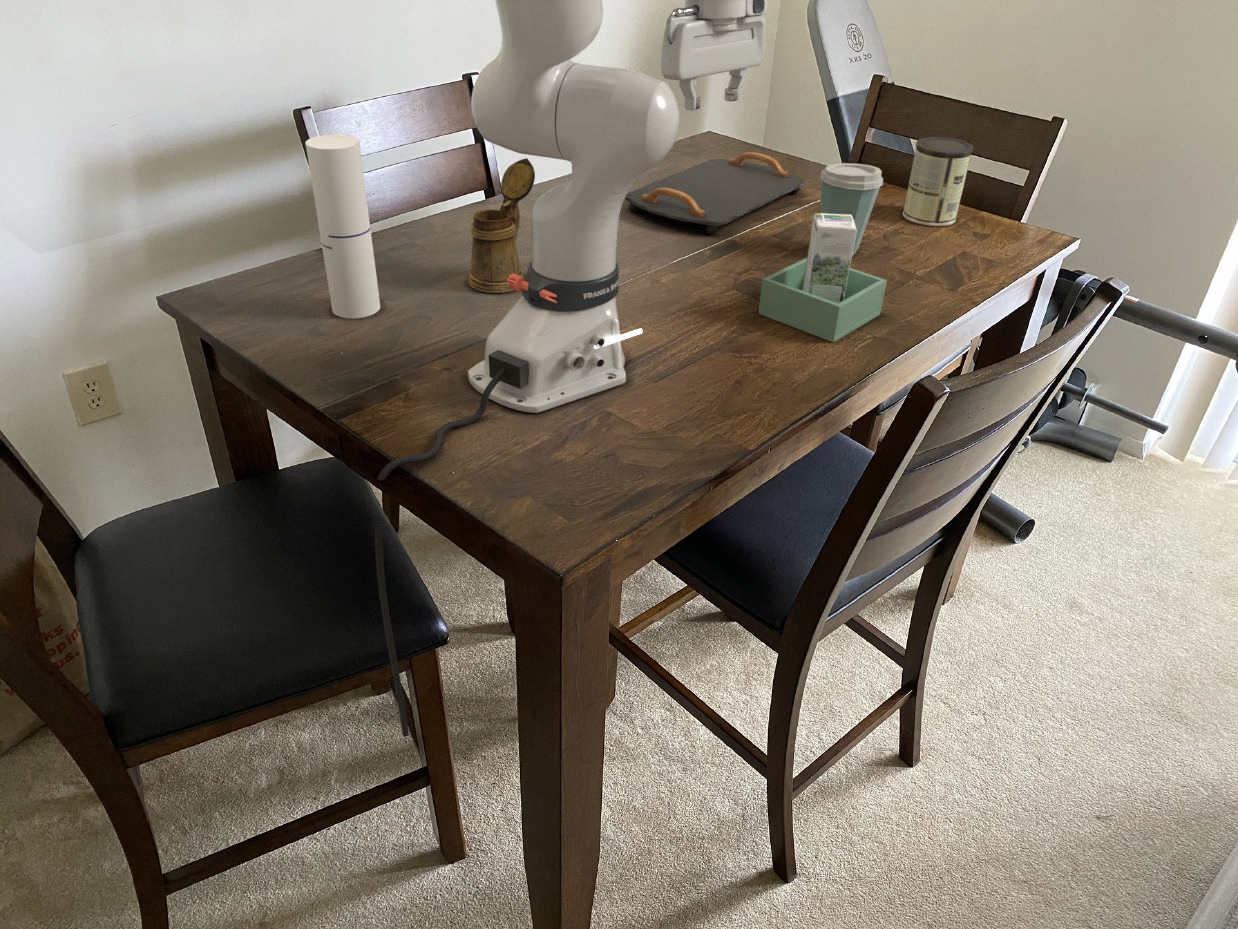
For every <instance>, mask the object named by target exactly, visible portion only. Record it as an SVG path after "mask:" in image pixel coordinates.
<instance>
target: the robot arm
mask: <svg viewBox="0 0 1238 929" xmlns="http://www.w3.org/2000/svg"><path fill="white" fill-rule="evenodd" d="M494 2H495V5H496V10H497V16H498V20H499V25H500V31H501V32H500V33H501V46H500V50H499V52H498V54H497V55H496V57H495V58H494V59H493V60H492V61H490V62H489V63H487V64H486V65H485V67H483V69H482V70H481V71H480V73H479V74H478V76H477V78H476V80H475V82H474V85H473V87H472V92H471V100H470V101H471V103H470V104H471V114H472V118H473V121H474V124H475V126H476V128H477V130H478V132H479V133H480V135H481V137H482V138H483V139H484V140H485V141H486V142H488V143H491V144H494V145H496V146H498V147H501V148H503V149H506V150H508V151H511V152H515V153H517V154H520V155H527V156H533V157H540V158H541V157H542V158H548V159H555V160H562V161H567V162H569V163H571V177H570V180H569V181H567V182H563V183H562V184H559V185H556V186H555V187H553V188H550V189H549V190H547V191H545V192H544V193H542V194H541V195H540V196H539V197H538V198H537V199H536V201H535V203H534V204H533V206H532V209H531V212H530V240H531V242H530V243H531V246H530V248H531V261H530V262H529V265H528V268H527V271H526V275H525V277H524V276H523V277H520V276H519V275H517V274H515V273H513V274H511V275H510V276H509V278H508V279H507V281H508V282H507V284H508V285H507V286H508V287H509V288H511V289H515V290H514V291H516V292H518V293H521V296H520V298H518V300H517V301H516V302H515V303H514V305H513V306H512V307H511V308H510V309H509V310H508V312H507V313H506V314H505V315H504V317H502V319H501V320H500V321H499V322H498V323H497V325H496V326H495V327H494V328H493V329H492V330H491V332H490V333H489V334H488V336H487V339H486V342H485V349H484V359H483V360H482V361H480V362H478V363H477V364H475V365H474V366H472V367H471V368H469V369H468V370H467V379H468V382H469V384H470V385H471V386H472V388H474V389H475V390H476V391H477V392H478V393H480V394H481V398H480V403H479V407H478V409H477V411H476V412H475V413H474V414H472V415H471V416H469V417H467V418H463V419H462V418H461V419H458V420H454V421H450V422H447V423H445V424H444V425H442V426H441V427H439V429H438V430H437V432H436V434H435V437H434V441H433V445H432V447H431V448H429V450H427V451H425V452H423V453H421V454H415V455H410V456H402V457H399V458H396V459H394V460H392V461H390V462H388V464H386V465H385V467H383V469H382V470H381V471H380V472H379V474H378V476H377V481H384V480H386V479H387V477H388V476H389V474H390V473H391V472H392V471H393V470H395V469H396V468H397V467H400V466H404V465H408V464H415V463H422V462H424V461H425V462H426V461H427V460H429V459H431V458H433V457H434V456H435V455H436V454H437V453H439V451H440V450H441V449H440V448H441V446H442V442H443V437H444V436H445V434H446V433H447V432H448V431H450V430H452V429H456V428H459V427H465V426H469V425H471V424H474V423H476V422H477V421H479V420H480V419H481V418H482V417H483V415H484V414H485V412H486V409H487V406H488V402H489V400H491V401H493V402H495V403H497V404H498V405H502V406H503V407H506V408H508V409H512V410H515V411H519V412H524V413H532V414H537V413H541V412H544V411H548V410H550V409H553V408H556V407H559V406H562V405H565V404H568V403H572V402H575V401H577V400H579V399H583V398H585V397H589V396H591V395H594V394H597V393H600V392H603V391H607V390H609V389H612V388H615V387H618V386H622V385H624V384H625V383H626V382H627V374H626V371H625V368H624V367H625V364H626V357H625V354H624V351H623V347H622V343H621V341H624V340H626V339H630V338H632V337H635V336H638V335H641V334H643V329H642V328H638V329H635V330H634V329H633V330H632V331H628V332H626V333H622V334H621V330H620V321H619V314H618V308H617V299H616V298H617V295H618V294H619V290H620V289H619V288H620V287H619V285H620V272H619V271H620V269H619V268H620V266H619V264H618V262H617V243H618V231H619V222H620V214H621V211H622V206H623V204H624V201H625V197H626V195H627V193H629V192H630V189H631V188H632V187H633V185H634V184H635V182H636V181H638V179H639V178H640V177H641V176H642V175H643V174H645V173H646V172H647V171H649V170H650V169H651V168H653V167H655V166H657V165H658V164H659V163H660V162H662V160H664V159H665V158H666V157H667V155H668V154H669V152H671V150H672V148H673V146H674V144H675V141H676V140H677V136H678V133H679V128H680V110H679V104H678V101H677V99H676V97H675V94H674V92H673V91H672V89H671V87H670V86H669V84H668V83H667V82H666V81H664V80H662V79H658V78H655V77H653V76H650V75H648V74H644V73H642V72H640V71H635V70H632V69H627V68H619V67H611V66H601V65H592V64H585V63H580V62H576V61H573V60H572V59H573V58H575V57H576V56H578V55H579V54H581V53H582V52H583V51H584V50H586V49H587V47H589V46H590V45H591V44H592V43H593V42H594V40H595V39H596V37H597V36H598V34H599V31H600V29H601V26H602V21H603V17H604V7H603V0H494ZM768 5H769V2H768V0H684V7H675V8H674V9H672V12H671V13H670V14H669V16H668V17H667V18H666V23H665V28H664V32H663V39H662V44H661V46H662V47H661V57H660V72H661V74H662V76H663V78H664V79H666V80H671V81H678V82H679V83H678V84H679V89H680V90H681V93H682V95H683V97H684V109H685V110H686V111H696V110H699V109H700V108H701V104H700V103H701V96H697V93H696V89H695V86H697V78H701V77H707V76H712V75H718V74H721V73H722V74H723V73H727V72H729V74H728V75H729V76H730V80H729V82H728V85H727V86H728V87H726V88H724V100H725V101H726V102H730V103H731V102H732V103H733V102H736V101H739V100H740V95H741V93H740V91H741V87H742V85H743V83H744V81H745V78H746V76H747V74H746V73H747V69H748V68H753V67H758V66H760V65H761V63H762V62H763V59H764V58H765V57H764V56H765V49H766V32H767V30H766V29H767V25H766V24H767V23H766V19H765V16H764V15H765V14H766V13H767V12H768V7H769V6H768ZM374 544H375V545H374V548H375V564H376V577H377V586H378V594H379V601H380V610H381V615H382V616H381V617H382V622H383V629H384V633H385V638H386V639H385V640H386V645H387V650H388V656H389V661H390V667H391V672H392V677H393V678H392V679H393V684H394V688H395V695H396V701H397V706H398V713H399V720H400V727H401V735H402V737H404V738H406V737H409V726H408V718H407V717H408V716H407V711H406V705H405V698H404V692H403V686H402V681H401V680H402V679H401V675H400V674H401V673H400V669H399V664H398V663H399V662H398V658H397V653H396V652H397V651H396V646H395V641H394V635H393V628H392V622H391V616H390V610H389V603H388V594H387V587H386V578H385V564H384V548H383V547H384V546H383V525H381V524H379V523H378V522H374Z"/></svg>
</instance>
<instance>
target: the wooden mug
mask: <svg viewBox="0 0 1238 929" xmlns="http://www.w3.org/2000/svg"><path fill="white" fill-rule="evenodd" d="M535 179H536V172H535V168H534V166H533V164H532V163H531V161H530V160H529V159H528V158H527V157H526V158H522V159H519V160H517V161H515V162H513V163H512V164H511V165H509V166H508V167H507V168H506V170H505V171H504V173H503V176H502V178H501V183H500V191H501V194H502V197H503V201H502V203H501V206H500V208H499V210H498V209H482V210H479V211H477V212H475V213H474V214H473V221H472V222H471V229H470V230H471V231H470V234H471V235H470V236H471V237H472V244H471V245H472V246H471V259H470V269H469V272H468V280H467V283H468V286H469V287H470V288H472V289H473V290H476V291H479V292H481V293H482V292H483V293H487V294H490V293H491V294H501V293H502V294H503V293H509V292H513V291H516V290H515V289H511V288H509V287H508V286H507V285H508V284H507V282H508V281H507V279H508V278H509V276H510V275H511V274H513V273H515V274H517V275H519V276H520V277H524V272H523V269H522V267H521V264H520V256H519V252H518V247H517V237H518V234H519V228H520V217H521V216H520V208H519V202H520V201H522V200H523V199H525V198H526V197H527V196H528V195H529V194H530V192H531V191H532V189H533V186H534V183H535Z"/></svg>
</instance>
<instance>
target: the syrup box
mask: <svg viewBox="0 0 1238 929" xmlns="http://www.w3.org/2000/svg"><path fill="white" fill-rule="evenodd" d="M856 231H857V229H856V227H855V223H854V220H853V217H852V215H846V214H826V213H820V212H814V213H813V217H812V223H811V230H810V236H809V243H808V248H807V250H808V251H807V256H806V258H807V262H806V269H805V275H804V281H803V288H802V291H804V292H807V293H810V294H813V295H815V296H818V297H821V298H824V299H827V300H829V301H832V302H835V303H840V302H842V301H844V296H845V290H846V285H847V279H848V274H849V269H850V268H851V262H852V259H853V258H852V257H853V255H852V253H853V248H854V242H855V237H856Z"/></svg>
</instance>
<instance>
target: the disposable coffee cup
mask: <svg viewBox="0 0 1238 929" xmlns="http://www.w3.org/2000/svg"><path fill="white" fill-rule="evenodd" d="M882 173H883V171H882V170H881V168H879V167H877V166H873V165H869V164H862V163H847V162H840V163H833V164H830V165H827V166H825V167H824V168H823V169H822V170H821V173H820V175H819V177H820V202H819V203H820V208H819V213H826V214H846V215H852V217H853V220H854V223H855V227H856V229H857V231H856V237H855V242H854V248H853V253H852V256H854V255H855V254H856V253H857V251H858V250H859V249H860V248H859V247H860V244H861V242H862V240H863V237H864V233H865V230H866V228H867V225H868V223H869V220H870V218H871V217H870V216H871V214H872V211H873V209H874V205H875V202H876V201H877V200H876V199H877V197H878V194H879V191H880V189H881V187H882V186H884V178H883V176H882Z"/></svg>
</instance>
